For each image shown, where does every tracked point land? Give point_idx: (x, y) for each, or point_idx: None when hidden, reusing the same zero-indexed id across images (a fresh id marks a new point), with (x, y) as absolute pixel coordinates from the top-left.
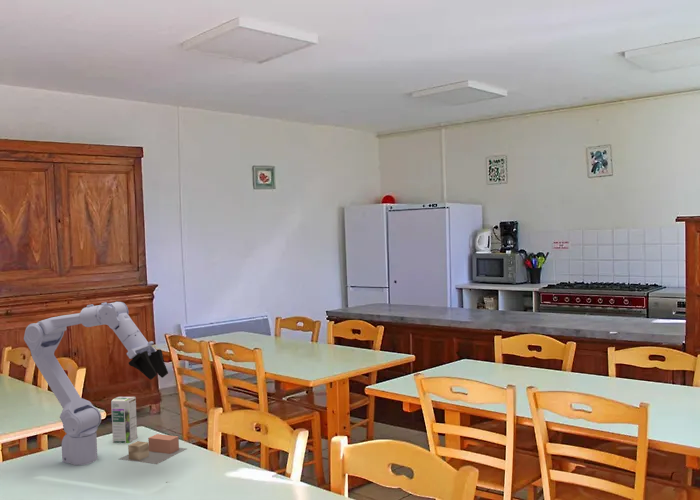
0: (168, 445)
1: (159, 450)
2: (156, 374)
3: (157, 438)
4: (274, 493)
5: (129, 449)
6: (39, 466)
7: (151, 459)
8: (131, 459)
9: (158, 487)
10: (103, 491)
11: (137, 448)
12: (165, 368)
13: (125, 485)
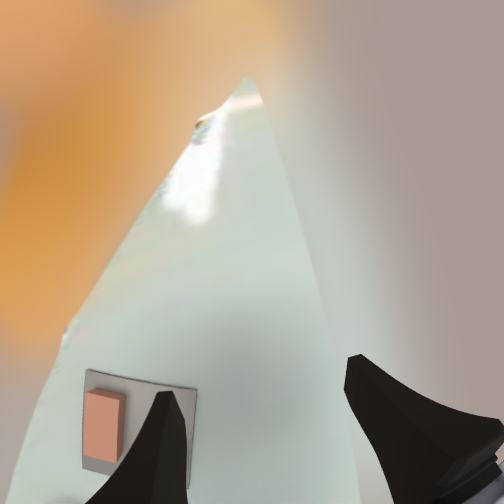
0: (121, 402)
1: (122, 426)
2: (353, 357)
3: (113, 439)
4: (267, 126)
5: None
6: None
7: None
8: None
9: (294, 320)
10: (332, 409)
11: None
12: (168, 412)
13: (299, 391)
